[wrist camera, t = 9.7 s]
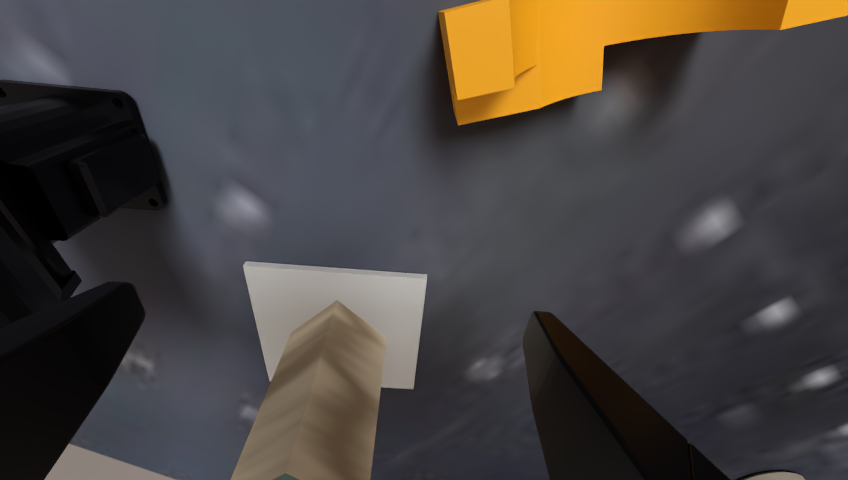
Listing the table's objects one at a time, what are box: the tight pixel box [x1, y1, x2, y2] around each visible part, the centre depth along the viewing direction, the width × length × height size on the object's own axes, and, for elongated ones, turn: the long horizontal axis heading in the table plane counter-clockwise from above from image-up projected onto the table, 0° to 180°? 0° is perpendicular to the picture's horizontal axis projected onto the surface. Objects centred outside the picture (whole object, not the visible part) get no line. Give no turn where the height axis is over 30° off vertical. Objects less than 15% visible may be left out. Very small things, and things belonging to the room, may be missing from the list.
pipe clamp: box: [438, 0, 848, 125], centre depth 14 cm, size 12×4×6 cm, turn 102°
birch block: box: [231, 300, 387, 480], centre depth 22 cm, size 5×5×12 cm
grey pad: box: [243, 261, 427, 389], centre depth 27 cm, size 12×12×1 cm
